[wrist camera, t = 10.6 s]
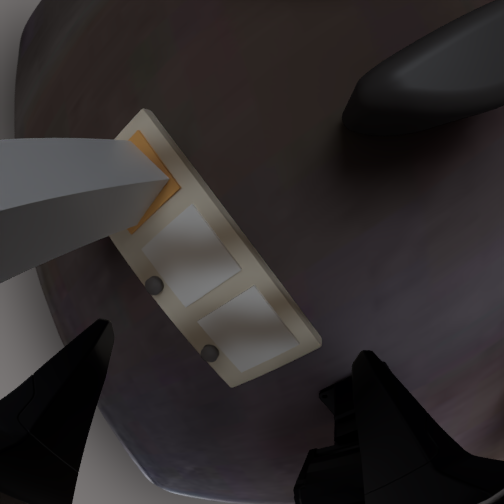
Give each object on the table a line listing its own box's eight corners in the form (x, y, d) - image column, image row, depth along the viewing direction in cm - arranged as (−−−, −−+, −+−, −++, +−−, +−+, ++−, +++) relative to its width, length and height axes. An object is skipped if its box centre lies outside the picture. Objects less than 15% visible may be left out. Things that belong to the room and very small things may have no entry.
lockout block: (169, 178, 19) (-18, 215, 6) (136, 224, 21) (-26, 296, 8) (130, 140, 19) (-47, 144, 6) (101, 187, 21) (-58, 225, 8)
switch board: (321, 337, 22) (321, 350, 20) (234, 379, 25) (229, 392, 23) (150, 110, 20) (138, 107, 18) (86, 184, 23) (73, 187, 21)
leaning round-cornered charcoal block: (376, 173, 18) (425, 178, 9) (334, 117, 17) (349, 75, 9) (508, 73, 12) (577, 47, 4) (475, 27, 12) (531, -19, 3)
